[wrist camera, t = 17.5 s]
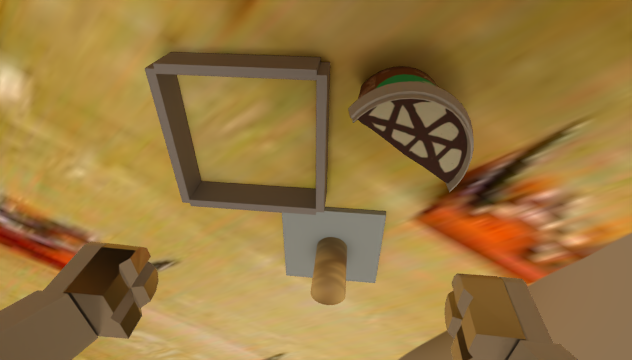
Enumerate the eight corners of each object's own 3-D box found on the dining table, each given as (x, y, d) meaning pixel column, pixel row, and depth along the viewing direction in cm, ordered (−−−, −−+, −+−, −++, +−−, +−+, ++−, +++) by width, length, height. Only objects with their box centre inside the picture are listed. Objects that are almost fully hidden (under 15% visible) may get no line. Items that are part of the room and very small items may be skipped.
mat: (385, 211, 47) (386, 215, 46) (374, 278, 55) (375, 283, 54) (282, 204, 48) (281, 207, 47) (287, 271, 56) (286, 275, 55)
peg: (348, 238, 49) (346, 284, 43) (346, 259, 52) (344, 306, 45) (317, 235, 49) (310, 281, 43) (316, 257, 52) (310, 303, 46)
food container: (479, 101, 37) (512, 149, 29) (435, 141, 40) (454, 194, 32) (390, 27, 33) (399, 57, 25) (350, 77, 37) (347, 118, 29)
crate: (330, 57, 36) (327, 70, 32) (326, 195, 46) (323, 215, 43) (162, 51, 37) (143, 63, 34) (195, 186, 48) (183, 205, 44)
